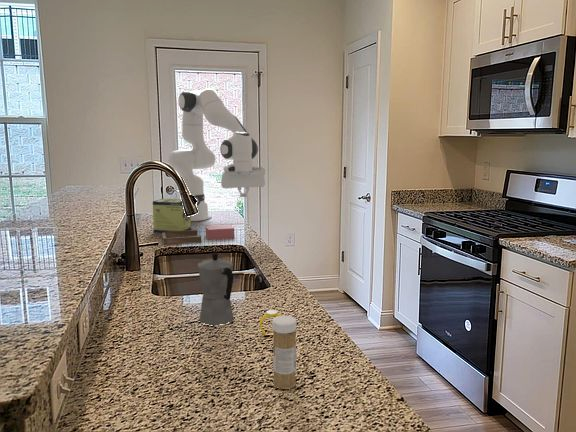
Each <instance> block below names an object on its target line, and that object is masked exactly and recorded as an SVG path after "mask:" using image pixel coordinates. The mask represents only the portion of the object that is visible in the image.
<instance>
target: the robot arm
mask: <svg viewBox="0 0 576 432" xmlns="http://www.w3.org/2000/svg"><path fill="white" fill-rule="evenodd" d="M178 106H179V108H180V110H181V111H182V119H181V120H182V121H181V123H182V124H181V125H182V127H181V128H182V129H181V130H182V131H181V133H182V134H181V136H182V139H183V140H184V142H187V143H189V144H191V147H192V148H191V149H189V148H188V149H187V148H186V149H185V148H184V149H182V148H181V149H176V150H173V151H171V152H170V153H169V155H168V163H169V165H170V167H171V168H172V167H173V168H174V169H173V168H172V169H173V170H175V171H176V172H177V173H178V175H179V174H180V175H181V176H182V178H183V179H184V181H185V183H186V185H187V187H188V189H189V191H190V193H191V194H192V195H194V197H195V198H196V199H197V208H198V211H199V213H198V214H196V215H194V216H191V222H198V221H206V220H209V219H212V216H211V215H209V209H208V203H207V202H206V201H205V198H206V197H205V196H206V195H205V192H204V191H205V190H204V181H203V178H201V177H200V176H199V175H196V174H194V170H203V169H204V170H205V169H209V168H213V166H214V165H215V164H216V163H215V162H216V155H215V153H214V151H212V150H211V148H209V147H208V145H207V143H206V142H205V139H204V118H205V119H206V121H207V122H208V123H209V124H211V125H212V126H215V127H219V128H223V129H226V130H228V131H230V132H232V133H233V134H232V136H231V137H229V138H227V139H224V140H223V141H222V142H221V144H220V147H219V148H220V150H219V151H220V154H221V156H222V157H223V158H224V159H225V160H230V161H231V160H233V161H232V162H233V163H231V164H229V165H228V164H227V165H225V166H223V171H224V172H223V173H222V174H221V178H220V179H221V180H220V181H221V182H220V184H221V185H220V186H221V187H222V188H223V189H235V188H237V191H238V193H239V197H240V198H247V197H248V193H249V191H250V188H261V187H262V188H263V187H265V185H266V181H265V180H266V179H265V174H266V173H265V171H266V170H265V168H263V167H262V166H259V167H258V166H253V159H254V158H256V156H257V155H258V153H259V146H258V144H257V141H255V139H253V138H252V137H251V136H252V135H251V133H249V132H248V131H247V129H245V127H244V125H243V124H242V122H241V121H240V119H238V117H237V116H235V114H233V113H232V112H231V111H230V110H229V109H228V108H227V107H226V105H225V104H224V102H223V100H222V98H221V97H220V94H219V93H218V92H217V91H216V90H214V89H213V88H205V89H203V90H192V91H191V90H190V91H189V90H185V91H182V92H181V93H180V94H179V97H178ZM180 175H179V176H180ZM181 176H180V177H181ZM182 178H181V179H182ZM242 188H244V189H245V192H242V191H241V190H242Z"/></svg>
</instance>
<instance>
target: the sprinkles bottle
mask: <svg viewBox="0 0 576 432" xmlns="http://www.w3.org/2000/svg"><path fill="white" fill-rule="evenodd" d="M271 324H272V325H271V326H272V331H273V332H272V333H273V334H274V336H272V337H273V339H272V340H273V345H272V346H273V347H272V348H273V351H272V352H273V354H272V367H273V368H272V369H273V380H272V384H274V385H275V386H276V387H278V388H282V389H289V388H292V387H294V386H295V387H296V385H297V381H296V380H297V379H296V377H297V376H296V370H297V342H296V340H297V339H296V336H297V334H296V333H297V325H298V324H297V319H296V318H295V317H294V316H292V315H282V316H274V318H273V319H272V323H271ZM274 385H273V386H274ZM276 387H275V388H276ZM295 387H294V388H295ZM292 389H293V388H292ZM289 390H290V389H289Z"/></svg>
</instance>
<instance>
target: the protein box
mask: <svg viewBox="0 0 576 432" xmlns="http://www.w3.org/2000/svg"><path fill="white" fill-rule="evenodd" d="M181 199H182V198H161V199H160V198H159V199H157V200H153V201H152V219H153V220H152V221H153V234H154V233H156V234H157V233H158V234H162V232H168V231H185V230H192V223H191V222H192V221H191V216H190V217H187V216H186V215H185V213H184V209H183V205H182V201H181Z"/></svg>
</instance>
